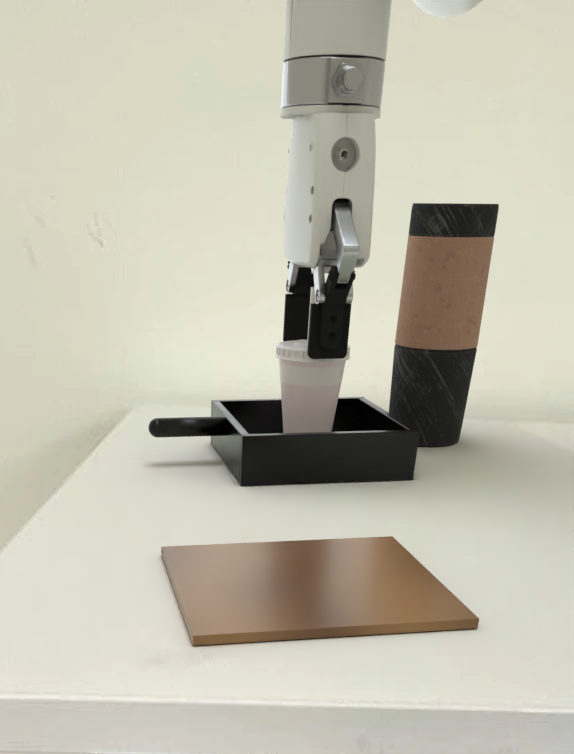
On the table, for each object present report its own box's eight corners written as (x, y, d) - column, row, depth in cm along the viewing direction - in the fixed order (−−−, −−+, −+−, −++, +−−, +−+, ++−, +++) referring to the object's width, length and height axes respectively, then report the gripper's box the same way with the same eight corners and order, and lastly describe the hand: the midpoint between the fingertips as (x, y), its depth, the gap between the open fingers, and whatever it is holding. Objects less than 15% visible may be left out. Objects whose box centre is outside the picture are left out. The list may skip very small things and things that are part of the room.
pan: (358, 439, 86) (363, 396, 84) (413, 479, 74) (420, 431, 72) (140, 445, 83) (139, 401, 81) (159, 488, 71) (158, 438, 69)
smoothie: (319, 449, 82) (332, 283, 75) (353, 465, 77) (371, 290, 70) (258, 454, 80) (265, 285, 73) (289, 472, 75) (300, 291, 68)
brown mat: (391, 544, 60) (392, 536, 59) (477, 628, 48) (479, 618, 48) (161, 555, 57) (161, 546, 57) (192, 646, 46) (192, 635, 45)
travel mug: (465, 449, 83) (506, 203, 72) (384, 445, 84) (413, 203, 73) (458, 431, 89) (494, 203, 79) (383, 428, 90) (409, 203, 80)
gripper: (422, 82, 58) (389, 366, 67) (345, 106, 72) (326, 336, 82) (314, 79, 57) (295, 368, 66) (257, 104, 71) (249, 337, 81)
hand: (313, 349), depth 74 cm, fingers open, 7 cm apart
